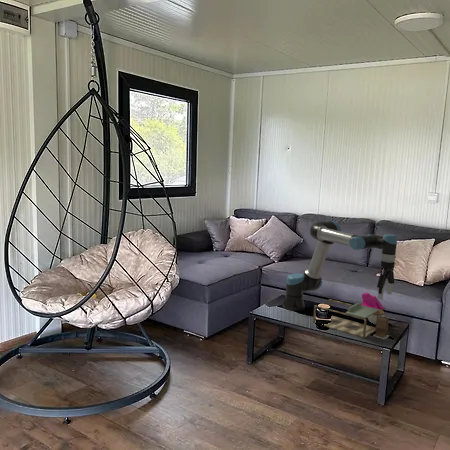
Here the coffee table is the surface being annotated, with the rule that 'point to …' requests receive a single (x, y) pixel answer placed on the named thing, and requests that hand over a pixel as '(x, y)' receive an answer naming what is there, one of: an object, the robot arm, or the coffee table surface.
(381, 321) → the block
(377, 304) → the bracket
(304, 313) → the coffee table surface
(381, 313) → the lidded jar
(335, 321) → the open box frame
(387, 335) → the tile
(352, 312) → the cover
